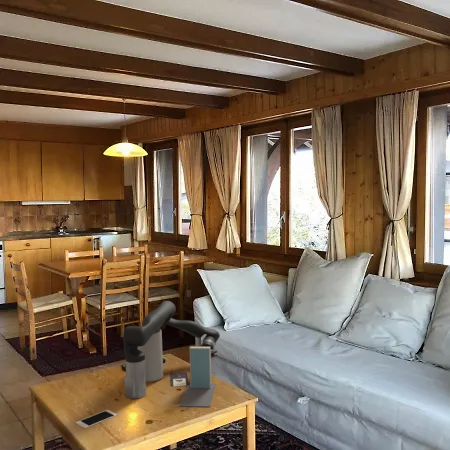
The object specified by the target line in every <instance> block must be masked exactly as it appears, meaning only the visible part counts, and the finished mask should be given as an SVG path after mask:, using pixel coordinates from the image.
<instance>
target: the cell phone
mask: <svg viewBox="0 0 450 450" xmlns="http://www.w3.org/2000/svg"><path fill="white" fill-rule="evenodd" d="M117 416H118V414H117V413H115V412H114V411H111V410H110V409H105V410H103V411H101V412H98V413H95V414H93V415H90V416H88V417H85V418H83V419H80V420H78V421H76V422H75V423H76V424H77V425H78V426H80V427H82V428H83V429H87V428H89V427H92V426H95V425H97V424H99V423H101V422H105V421H107V420H109V419H112V418H114V417H117Z"/></svg>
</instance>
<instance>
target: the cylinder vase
mask: <svg viewBox="0 0 450 450" xmlns="http://www.w3.org/2000/svg"><path fill="white" fill-rule="evenodd" d="M162 333H163V332H162V328H159V329H158V330H157V331H156V332H155V333H154V334H153V335H152V336H151V337H150V339H149V340H148V342H147V343H146V344H145V345H144V346H137V349H138V350H140V351H142V352H144V354H145V372H146V383H153V382H156V381H159V380H161V379H162V378H163V377H164V368H163V367H164V366H163V364H164V362H163V338H162V336H163V335H162Z"/></svg>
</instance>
